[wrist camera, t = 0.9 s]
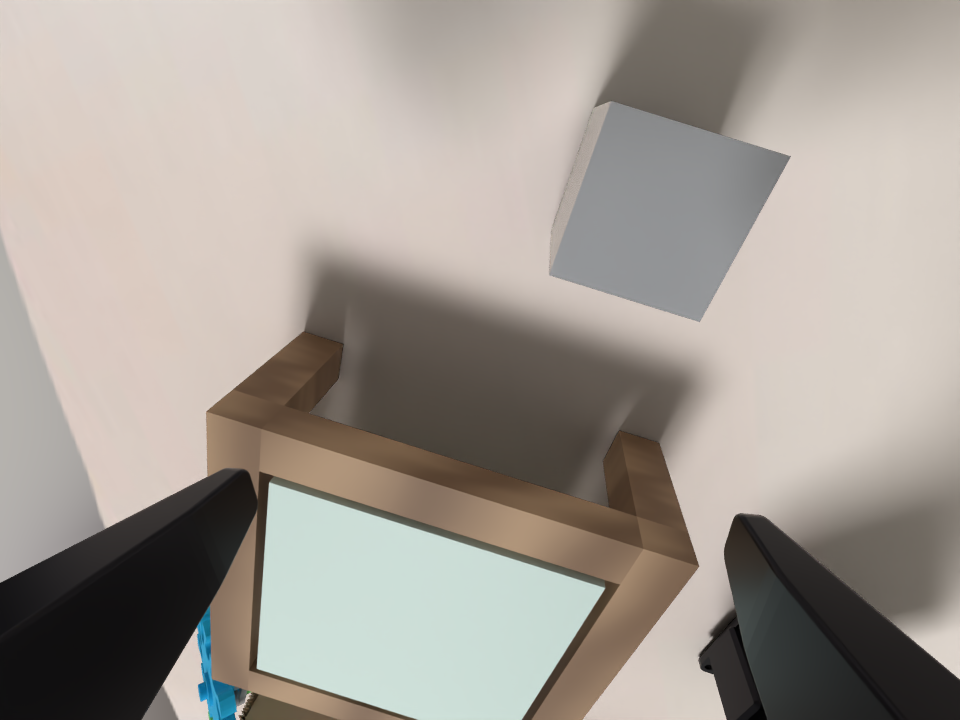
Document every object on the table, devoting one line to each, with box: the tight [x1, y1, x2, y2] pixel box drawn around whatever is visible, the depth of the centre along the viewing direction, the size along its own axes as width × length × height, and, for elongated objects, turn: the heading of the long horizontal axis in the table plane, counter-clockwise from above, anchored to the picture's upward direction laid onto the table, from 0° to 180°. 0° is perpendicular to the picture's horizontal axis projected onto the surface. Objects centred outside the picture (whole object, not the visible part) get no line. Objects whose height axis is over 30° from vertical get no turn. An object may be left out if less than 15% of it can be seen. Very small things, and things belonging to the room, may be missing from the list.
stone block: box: [549, 101, 791, 322], centre depth 15 cm, size 4×4×6 cm
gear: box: [197, 606, 251, 720], centre depth 33 cm, size 11×6×10 cm
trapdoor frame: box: [206, 332, 699, 720], centre depth 23 cm, size 18×18×7 cm
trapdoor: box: [257, 476, 605, 720], centre depth 21 cm, size 13×13×1 cm
